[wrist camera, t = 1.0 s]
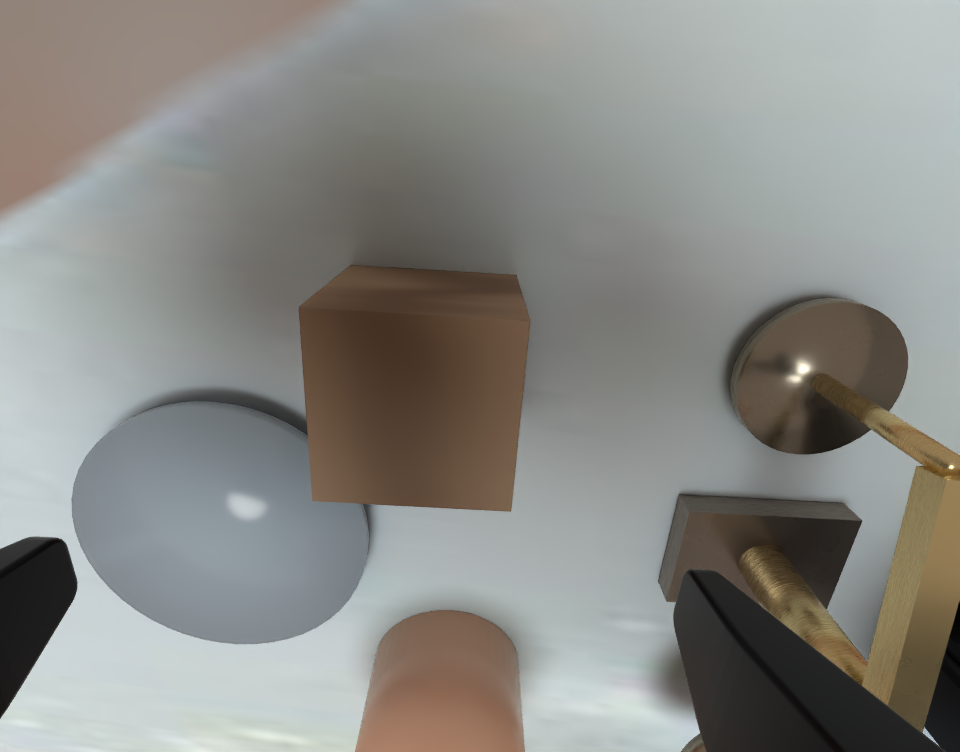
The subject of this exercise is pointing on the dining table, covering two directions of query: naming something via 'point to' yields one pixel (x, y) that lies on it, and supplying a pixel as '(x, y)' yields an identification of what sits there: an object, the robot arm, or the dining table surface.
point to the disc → (217, 524)
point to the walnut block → (414, 387)
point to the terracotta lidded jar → (443, 688)
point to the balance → (832, 526)
